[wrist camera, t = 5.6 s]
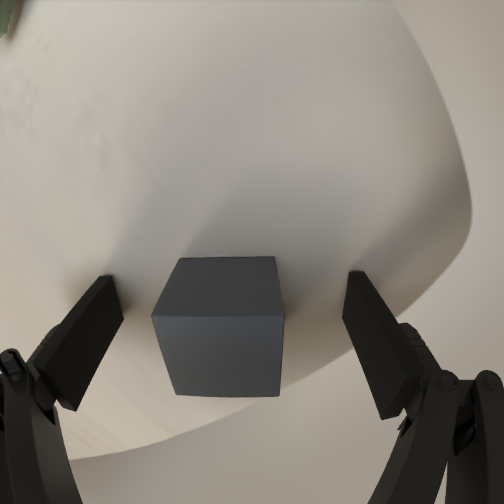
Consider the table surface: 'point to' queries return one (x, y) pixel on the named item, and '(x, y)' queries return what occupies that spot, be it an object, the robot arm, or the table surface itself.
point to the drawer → (5, 15)
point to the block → (222, 327)
